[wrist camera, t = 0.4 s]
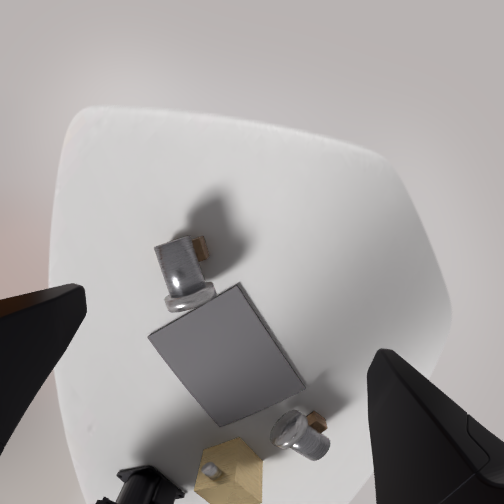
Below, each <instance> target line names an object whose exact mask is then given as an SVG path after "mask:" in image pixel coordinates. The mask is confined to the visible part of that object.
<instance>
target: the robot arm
mask: <svg viewBox="0 0 504 504" xmlns="http://www.w3.org/2000/svg"><path fill="white" fill-rule="evenodd" d="M86 313H87V305H86V296H85V289H84V287H83V286H81V285H77V284H74V283H71V284H66V285H62V286H58V287H53V288H49V289H45V290H40V291H36V292H31V293H27V294H23V295H19V296H14V297H10V298H6V299H2V300H0V455H1V453H2V452H3V449H4V447H5V446H6V444H7V442H8V440H9V438H10V437H11V435H12V433H13V432H14V430H15V428H16V427H17V425H18V423H19V422H20V420H21V418H22V416H23V415H24V413H25V411H26V410H27V408H28V407H29V405H30V403H31V402H32V400H33V399H34V397H35V396H36V394H37V392H38V391H39V389H40V388H41V386H42V385H43V383H44V382H45V380H46V379H47V377H48V376H49V374H50V373H51V371H52V370H53V368H54V367H55V365H56V364H57V362H58V361H59V360H60V358H61V357H62V355H63V354H64V352H65V351H66V349H67V347H68V346H69V344H70V342H71V340H72V339H73V337H74V335H75V333H76V331H77V330H78V328H79V326H80V325H81V323H82V321H83V319H84V318H85V316H86ZM367 391H368V421H369V430H370V438H371V446H372V456H373V465H374V475H375V489H376V501H377V502H376V503H377V504H504V442H503V441H501V440H500V439H499V438H498V437H496V436H495V435H494V434H492V433H491V432H490V431H488V430H487V429H486V428H485V427H483V426H482V425H481V424H480V423H479V422H477V421H476V420H475V419H474V418H473V417H471V416H470V415H467V412H465V411H464V410H463V409H462V408H461V407H460V406H458V405H457V404H456V403H455V402H454V401H453V400H451V399H450V398H449V397H448V396H447V395H446V394H444V393H443V392H442V391H441V390H440V389H438V388H437V387H436V386H435V385H434V384H432V383H431V382H430V381H429V380H428V379H427V378H425V377H424V376H423V375H422V374H421V373H419V372H418V371H417V370H416V369H415V368H413V367H412V366H411V365H410V364H409V363H407V362H406V361H405V360H404V359H403V358H401V357H400V356H399V355H398V354H397V353H395V352H394V351H393V350H391V349H382V348H381V349H379V350H378V351H377V352H376V354H375V357H374V359H373V361H372V363H371V365H370V367H369V369H368V373H367ZM117 477H118V478H120V479H121V480H122V481H123V482H124V485H123V487H122V489H121V492H120V494H119V496H118V498H117V500H116V502H113V501H111V500H109V499H108V498H106V497H104V498H103V499H102V500H97V502H96V504H174V501H175V499H180V498H184V496H185V494H184V493H183V492H182V491H181V490H179V489H178V488H177V487H176V486H175V485H173V484H172V483H171V482H170V481H169V480H167V479H166V478H165V477H164V476H163V475H162V474H161V473H159V472H158V471H157V470H156V469H155V468H154V467H152V466H146V467H141V468H137V469H132V470H127V471H122V472H118V473H117Z"/></svg>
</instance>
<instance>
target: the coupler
mask: <svg viewBox="0 0 504 504" xmlns="http://www.w3.org/2000/svg"><path fill="white" fill-rule="evenodd" d="M262 467H263V461H262V460H261V459H260V458H259V457H258V456H257V455H256V454H255V453H254V452H253V451H252V450H251V449H250V448H249V447H248V445H247V444H246V443H245V442H244V441H243V440H242V439H241V438H240V437H238V438H236V439H233V440H230V441H227V442H224V443H222V444H219V445H216V446H213V447H210V448H207V449H204V450H203V455H202V459H201V463H200V467H199V471H198V475H197V480H196V484H195V488H194V491H195V492H196V493H197V494H198V495H200V496H201V497H202V498H204V499H205V500H206V501H207V502H209V503H210V504H260V503H262Z"/></svg>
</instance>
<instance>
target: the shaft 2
mask: <svg viewBox="0 0 504 504" xmlns="http://www.w3.org/2000/svg"><path fill="white" fill-rule="evenodd" d="M326 429H327V424H326V420H325V418H323V417H322V416H321V415H319V414H318V413H316V412H315V411H313V412H312V413H311V414H309V415H308V416H307V417H306V416H305V415H304V414H302V413H301V412H299V411H297V410H292V411H289V412H288V413H286V414H284V415H283V416H282V417H281V418H280V419H279V420H278V421H277V422H276V424H275V425H274V427H273V429H272V431H271V434H270V441H271V443H272V444H274V445H276V446H277V447H279V448H281V449H287V448H289V447H290V448H291V449H293V450H295V451H296V452H298V453H300V454H301V455H303V456H305V457H306V458H308V459H310V460H312V461H316V460H319V459H320V458H322V457H323V456H324V455H325V454H326V453H327V451H328V450H329V447H330V440H329V438H327V437H326V436H324V435H323V434H321V433H322V432H323V431H325V430H326Z"/></svg>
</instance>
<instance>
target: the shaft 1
mask: <svg viewBox="0 0 504 504" xmlns="http://www.w3.org/2000/svg"><path fill="white" fill-rule="evenodd" d="M154 249H155V252H156V255H157V259H158V262H159V265H160V268H161V270H162V273H163V276H164V279H165V282H166V285H167V288H168V291H169V293H170V295H168V296H167V297H165V299H164V301H165V303H166V306H167V309H168V311H169V312H181V311H186V310H190V309H193V308H196V307H198V306H201V305H203V304H205V303H207V302H209V301H211V300H212V299H214V298H215V297H216V295H217V293H216V290H215V287H214V284H213V282H205V280H204V277H203V274H202V271H201V268H200V265H199V262H200V261H203V260H206V259H207V258H208V257H209V256H210V255H209V252H208V249H207V246H206V243H205V240H204V236H201V237H198V238H195V239H192V240H191V237H190V236H186V237H182V238H179V239H176V240H173V241H170V242H167V243H164V244H161V245H159V246H156V247H154Z"/></svg>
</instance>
